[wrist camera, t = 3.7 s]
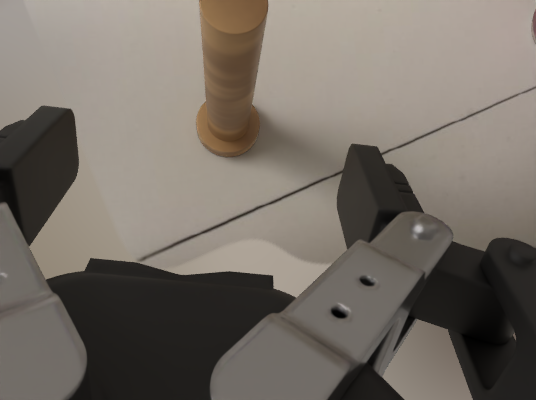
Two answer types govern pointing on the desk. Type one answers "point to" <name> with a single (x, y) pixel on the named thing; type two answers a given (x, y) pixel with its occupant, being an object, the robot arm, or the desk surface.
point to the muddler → (230, 73)
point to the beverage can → (534, 26)
